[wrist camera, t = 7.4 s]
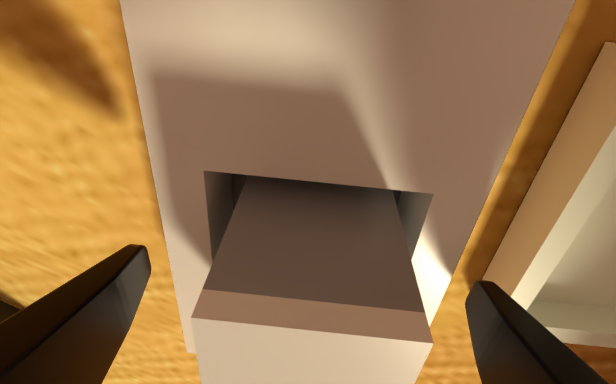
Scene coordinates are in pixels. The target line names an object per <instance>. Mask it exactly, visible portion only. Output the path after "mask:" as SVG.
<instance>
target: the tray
mask: <svg viewBox="0 0 616 384" xmlns="http://www.w3.org/2000/svg"><path fill="white" fill-rule="evenodd" d="M482 280H486V281H492V282H494V283H496V284H497V285H498V286H499V287H500V288H501V289H502V290H504V291H505V292H506V293H507V294H508V295H509V296H510V297H511V298H513V299H514V300H515V301H516V302H517V303H518V304H519V305H521V306H522V307H523V308H524V309H525V310H526V311H527V312H528V313H530V314H531V315H532V316H533V317H534V318H535V319H536V320H538V321H539V322H540V323H541V324H542V325H543V326H544V327H545V328H547V329H548V330H549V331H550V332H551V333H552V334H553V335H554V336H556V337H557V338H558V339H559V340H560V341H561V342H562V343H570V344H580V345H589V346H599V347H609V348H616V43H614V42H605V44H604V46H603V48H602V50H601V52H600V54H599V56H598V57H597V59H596V61H595V63H594V65H593V67H592V69H591V71H590V73H589V75H588V77H587V79H586V80H585V82H584V84H583V86H582V88H581V90H580V92H579V94H578V96H577V98H576V100H575V102H574V104H573V105H572V107H571V109H570V111H569V113H568V115H567V117H566V119H565V121H564V123H563V125H562V127H561V129H560V130H559V132H558V134H557V136H556V138H555V140H554V142H553V144H552V146H551V148H550V150H549V152H548V154H547V155H546V157H545V159H544V161H543V163H542V165H541V167H540V169H539V171H538V173H537V175H536V177H535V178H534V180H533V182H532V184H531V186H530V188H529V190H528V192H527V194H526V196H525V198H524V200H523V202H522V203H521V205H520V207H519V209H518V211H517V213H516V215H515V217H514V219H513V221H512V223H511V225H510V227H509V228H508V230H507V232H506V234H505V236H504V238H503V240H502V242H501V244H500V246H499V248H498V250H497V252H496V253H495V255H494V257H493V259H492V261H491V263H490V265H489V267H488V269H487V271H486V273H485V275H484V276H483V278H482Z"/></svg>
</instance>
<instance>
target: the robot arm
mask: <svg viewBox="0 0 616 384" xmlns="http://www.w3.org/2000/svg"><path fill="white" fill-rule="evenodd" d="M150 274H151V264H150V260H149V255H148V251H147V248H146V247H145V246H143V245H135V244H130V245H127V246H125V247H124V248H122V249H121V250H119V251H117V252H116V253H114V254H112V255H111V256H109V257H107V258H106V259H104V260H103V261H101V262H99V263H98V264H96V265H94V266H93V267H91V268H89V269H88V270H86V271H85V272H83V273H81V274H80V275H78V276H76V277H75V278H73V279H71V280H70V281H68V282H67V283H65V284H63V285H62V286H60V287H58V288H57V289H55V290H54V291H52V292H50V293H49V294H47V295H45V296H44V297H42V298H40V299H39V300H37V301H36V302H34V303H32V304H31V305H29V306H27V307H26V308H24V309H22V310H21V311H19V312H18V313H16V314H14V315H13V316H11V317H9V318H8V319H6V320H4V321H3V322H1V323H0V384H102V382H103V380H104V378H105V376H106V374H107V372H108V370H109V368H110V366H111V364H112V362H113V360H114V358H115V356H116V355H117V353H118V351H119V349H120V347H121V345H122V343H123V341H124V339H125V337H126V335H127V333H128V331H129V329H130V327H131V324H132V322H133V319H134V317H135V314H136V311H137V309H138V306H139V303H140V301H141V298H142V296H143V293H144V290H145V288H146V285H147V282H148V280H149V277H150ZM465 308H466V314H467V319H468V324H469V330H470V335H471V340H472V346H473V351H474V356H475V360H476V364H477V368H478V372H479V375H480V378H481V382H482V384H609V383H608V382H607V381H605V380H604V379H603V378H602V377H601V376H600V375H599V374H598V373H596V372H595V371H594V370H593V369H592V368H591V367H590V366H588V365H587V364H586V363H585V362H584V361H583V360H582V359H581V358H579V357H578V356H577V355H576V354H575V353H574V352H573V351H571V350H570V349H569V348H568V347H567V346H566V345H565V344H564V343H562V342H561V341H560V340H559V339H558V338H557V337H556V336H554V335H553V334H552V333H551V332H550V331H549V330H548V329H547V328H545V327H544V326H543V325H542V324H541V323H540V322H539V321H538V320H536V319H535V318H534V317H533V316H532V315H531V314H530V313H528V312H527V311H526V310H525V309H524V308H523V307H522V306H521V305H519V304H518V303H517V302H516V301H515V300H514V299H513V298H511V297H510V296H509V295H508V294H507V293H506V292H505V291H504V290H502V289H501V288H500V287H499V286H498V285H497V284H496V283H494V282H492V281H486V280H477V281H475V283H474V284H473V286H472V288H471V290H470V292H469V294H468V296H467V298H466V302H465Z"/></svg>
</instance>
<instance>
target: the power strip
mask: <svg viewBox="0 0 616 384" xmlns="http://www.w3.org/2000/svg"><path fill="white" fill-rule="evenodd" d="M119 1H120V6H121V11H122V16H123V21H124V27H125V32H126V37H127V42H128V47H129V53H130V58H131V63H132V68H133V74H134V79H135V84H136V89H137V94H138V100H139V105H140V110H141V115H142V121H143V126H144V131H145V136H146V141H147V147H148V152H149V157H150V162H151V167H152V173H153V178H154V183H155V188H156V194H157V199H158V204H159V209H160V214H161V220H162V225H163V230H164V235H165V241H166V246H167V251H168V256H169V261H170V267H171V272H172V277H173V282H174V288H175V293H176V298H177V303H178V308H179V314H180V319H181V324H182V329H183V334H184V340H185V345H186V350H187V353H195V354H196V349H195V342H194V336H193V329H192V323H191V316H192V313H193V311H194V308H195V306H196V303H197V301H198V298H199V296H200V293H201V291H202V288H203V286H204V283H205V281H206V278H207V276H208V273H209V271H210V268H211V266H212V263H213V261H214V258H215V256H216V253H217V251H218V248H219V246H220V243H221V241H222V238H223V236H224V233H225V231H226V228H227V226H228V224H229V221H230V219H231V216H232V214H233V211H234V209H235V206H236V204H237V201H238V199H239V196H240V194H241V191H242V189H243V186H244V184H245V181H246V179H247V176H248V175H253V176H263V177H273V178H283V179H292V180H302V181H312V182H322V183H332V184H342V185H352V186H361V187H371V188H381V189H391V190H393V194H394V198H395V201H396V205H397V209H398V213H399V216H400V220H401V224H402V227H403V231H404V235H405V239H406V242H407V246H408V250H409V254H410V257H411V261H412V265H413V268H414V272H415V276H416V280H417V283H418V287H419V291H420V294H421V298H422V302H423V306H424V309H425V313H426V317H427V320H428V324H429V327H430V325H431V322H432V320H433V318H434V316H435V313H436V311H437V309H438V307H439V304H440V302H441V300H442V298H443V296H444V293H445V291H446V289H447V287H448V284H449V282H450V280H451V278H452V275H453V273H454V271H455V269H456V267H457V264H458V262H459V260H460V258H461V255H462V253H463V251H464V249H465V246H466V244H467V242H468V240H469V238H470V235H471V233H472V231H473V229H474V226H475V224H476V222H477V220H478V217H479V215H480V213H481V211H482V209H483V206H484V204H485V202H486V200H487V197H488V195H489V193H490V191H491V188H492V186H493V184H494V182H495V180H496V177H497V175H498V173H499V171H500V168H501V166H502V164H503V162H504V159H505V157H506V155H507V153H508V151H509V148H510V146H511V144H512V142H513V139H514V137H515V135H516V133H517V130H518V128H519V126H520V124H521V122H522V119H523V117H524V115H525V113H526V110H527V108H528V106H529V104H530V101H531V99H532V97H533V95H534V93H535V90H536V88H537V86H538V84H539V81H540V79H541V77H542V75H543V72H544V70H545V68H546V66H547V64H548V61H549V59H550V57H551V55H552V52H553V50H554V48H555V46H556V44H557V41H558V39H559V37H560V35H561V32H562V30H563V28H564V26H565V23H566V21H567V19H568V17H569V15H570V12H571V10H572V8H573V6H574V3H575V1H576V0H119Z"/></svg>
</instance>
